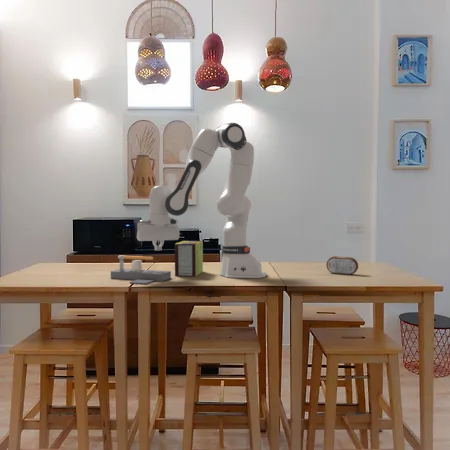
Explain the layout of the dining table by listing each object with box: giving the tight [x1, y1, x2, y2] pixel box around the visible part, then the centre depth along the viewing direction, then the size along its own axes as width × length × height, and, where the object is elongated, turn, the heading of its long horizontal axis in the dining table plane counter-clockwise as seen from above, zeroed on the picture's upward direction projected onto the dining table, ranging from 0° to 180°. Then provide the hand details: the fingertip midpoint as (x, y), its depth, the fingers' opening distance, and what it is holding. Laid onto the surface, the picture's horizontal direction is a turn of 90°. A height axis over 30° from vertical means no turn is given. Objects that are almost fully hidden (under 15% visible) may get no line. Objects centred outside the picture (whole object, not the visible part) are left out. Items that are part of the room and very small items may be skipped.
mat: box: [129, 279, 156, 286], centre depth 189 cm, size 8×8×1 cm
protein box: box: [174, 240, 204, 277], centre depth 212 cm, size 10×15×16 cm
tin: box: [326, 255, 359, 276], centre depth 212 cm, size 15×3×8 cm, turn 65°
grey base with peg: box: [110, 259, 172, 283], centre depth 199 cm, size 26×9×9 cm, turn 72°
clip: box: [117, 254, 154, 261], centre depth 200 cm, size 18×3×1 cm, turn 72°
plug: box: [131, 259, 143, 272], centre depth 200 cm, size 4×4×8 cm
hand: (158, 250), depth 201 cm, fingers closed
